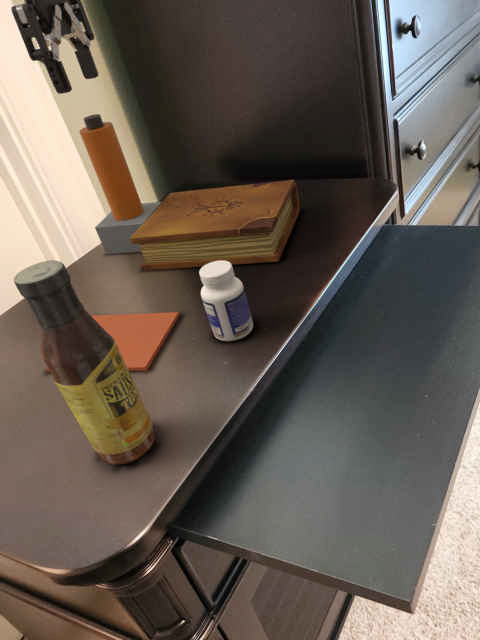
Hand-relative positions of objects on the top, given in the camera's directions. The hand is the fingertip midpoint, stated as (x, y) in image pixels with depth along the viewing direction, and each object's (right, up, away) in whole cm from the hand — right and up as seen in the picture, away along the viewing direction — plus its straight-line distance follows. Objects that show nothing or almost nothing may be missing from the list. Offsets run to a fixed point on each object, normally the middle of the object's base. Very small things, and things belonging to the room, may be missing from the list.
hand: (79, 85), depth 78 cm
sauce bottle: (+15, -52, -23) cm, 59 cm away
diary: (+20, -20, +11) cm, 30 cm away
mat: (+8, -39, -8) cm, 41 cm away
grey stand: (+4, -18, +16) cm, 25 cm away
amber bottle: (+3, -15, +13) cm, 20 cm away
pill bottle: (+24, -38, -10) cm, 46 cm away
